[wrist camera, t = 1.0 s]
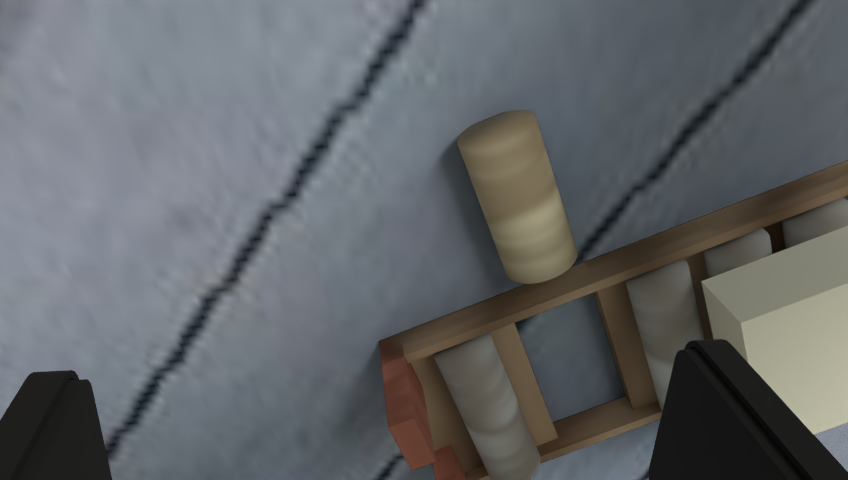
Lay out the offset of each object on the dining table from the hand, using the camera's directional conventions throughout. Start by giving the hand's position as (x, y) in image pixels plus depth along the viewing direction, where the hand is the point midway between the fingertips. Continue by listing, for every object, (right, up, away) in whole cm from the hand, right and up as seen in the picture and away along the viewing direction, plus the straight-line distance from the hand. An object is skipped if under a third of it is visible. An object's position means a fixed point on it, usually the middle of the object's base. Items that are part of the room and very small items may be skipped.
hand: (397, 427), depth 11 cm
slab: (+20, 0, +22) cm, 30 cm away
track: (+13, -1, +26) cm, 29 cm away
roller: (+5, +5, +20) cm, 21 cm away
